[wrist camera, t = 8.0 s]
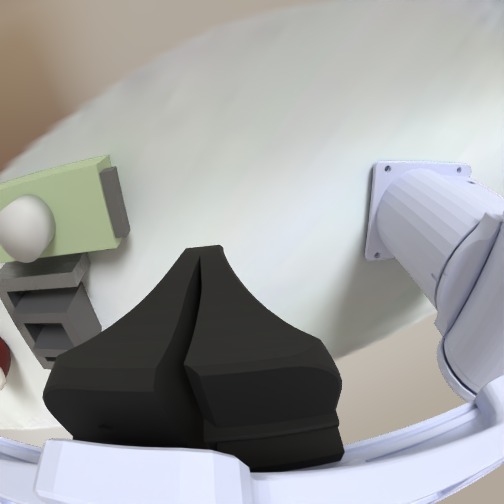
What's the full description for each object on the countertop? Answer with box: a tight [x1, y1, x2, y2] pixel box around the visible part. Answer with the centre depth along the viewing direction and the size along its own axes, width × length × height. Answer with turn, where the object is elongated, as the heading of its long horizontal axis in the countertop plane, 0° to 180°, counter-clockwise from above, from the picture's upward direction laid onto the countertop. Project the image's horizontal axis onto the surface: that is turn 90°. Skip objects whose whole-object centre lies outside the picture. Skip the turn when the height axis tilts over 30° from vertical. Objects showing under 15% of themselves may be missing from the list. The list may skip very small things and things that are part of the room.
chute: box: [12, 282, 102, 357], centre depth 22 cm, size 6×5×4 cm
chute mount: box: [0, 252, 90, 369], centre depth 23 cm, size 9×11×3 cm
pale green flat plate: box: [0, 155, 130, 263], centre depth 17 cm, size 12×6×4 cm, turn 94°
